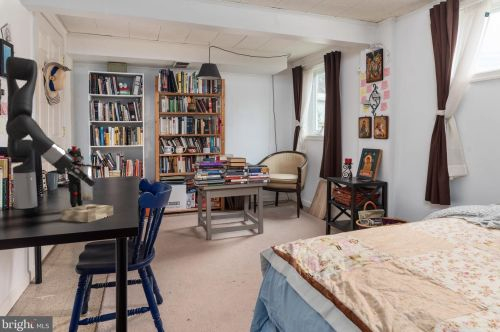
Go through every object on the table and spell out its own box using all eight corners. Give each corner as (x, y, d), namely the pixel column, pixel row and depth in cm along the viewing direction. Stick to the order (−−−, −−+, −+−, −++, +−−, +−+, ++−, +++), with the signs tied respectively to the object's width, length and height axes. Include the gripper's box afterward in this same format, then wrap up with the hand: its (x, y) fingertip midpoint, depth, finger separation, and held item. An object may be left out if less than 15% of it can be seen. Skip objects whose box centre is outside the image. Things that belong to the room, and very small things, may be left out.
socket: (61, 219, 141) (61, 210, 141) (88, 212, 154) (87, 204, 154) (88, 222, 136) (87, 212, 136) (113, 214, 149) (112, 205, 149)
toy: (61, 219, 142) (57, 147, 139) (45, 218, 143) (41, 147, 141) (105, 205, 171) (103, 145, 169) (92, 204, 173) (89, 145, 170)
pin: (79, 200, 143) (77, 167, 142) (87, 198, 147) (85, 166, 146) (87, 201, 142) (85, 167, 140) (95, 199, 146) (93, 166, 145)
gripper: (68, 150, 133) (102, 179, 141) (61, 149, 144) (94, 176, 152) (53, 164, 130) (89, 193, 138) (48, 163, 141) (81, 189, 149)
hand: (91, 184), depth 145 cm, fingers closed on pin, 4 cm apart
